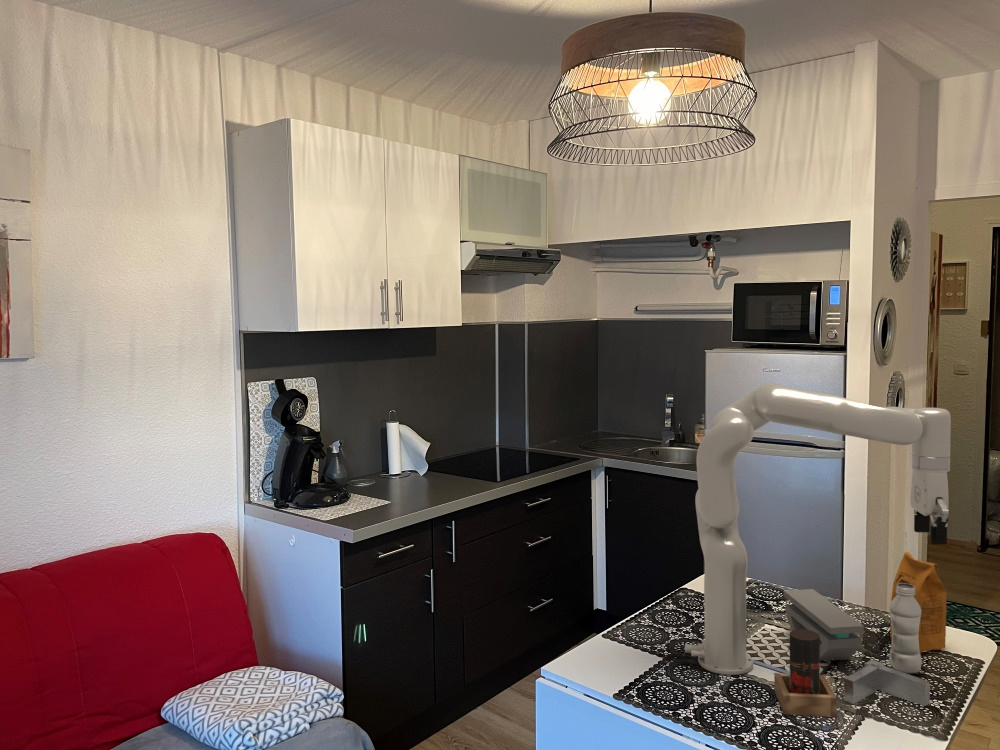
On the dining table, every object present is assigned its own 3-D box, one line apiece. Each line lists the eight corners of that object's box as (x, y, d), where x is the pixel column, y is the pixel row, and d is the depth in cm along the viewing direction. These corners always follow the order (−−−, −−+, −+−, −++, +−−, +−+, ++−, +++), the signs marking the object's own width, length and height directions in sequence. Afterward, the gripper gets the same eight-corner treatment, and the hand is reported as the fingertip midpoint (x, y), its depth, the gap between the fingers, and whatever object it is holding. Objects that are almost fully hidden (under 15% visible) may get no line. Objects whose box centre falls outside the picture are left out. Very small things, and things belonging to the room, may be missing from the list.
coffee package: (919, 632, 203) (920, 548, 202) (952, 652, 191) (953, 563, 189) (883, 635, 202) (883, 550, 201) (913, 655, 190) (914, 565, 188)
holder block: (783, 714, 164) (783, 695, 164) (774, 690, 174) (774, 673, 174) (836, 716, 162) (836, 697, 162) (824, 692, 173) (824, 675, 172)
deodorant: (784, 697, 171) (784, 630, 170) (811, 695, 172) (811, 628, 170) (797, 711, 165) (797, 641, 164) (824, 709, 166) (825, 639, 165)
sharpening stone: (863, 672, 182) (863, 625, 181) (830, 674, 182) (830, 627, 181) (812, 629, 207) (812, 589, 206) (783, 631, 207) (783, 590, 206)
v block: (846, 704, 168) (846, 681, 167) (831, 679, 179) (832, 658, 178) (932, 708, 165) (932, 684, 165) (912, 682, 176) (912, 661, 176)
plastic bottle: (925, 678, 178) (926, 591, 177) (893, 676, 180) (893, 590, 178) (916, 665, 185) (917, 581, 183) (885, 663, 186) (886, 580, 185)
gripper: (899, 456, 187) (899, 527, 188) (927, 470, 170) (926, 548, 171) (933, 456, 186) (932, 528, 187) (965, 470, 169) (964, 549, 170)
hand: (929, 537), depth 179 cm, fingers open, 9 cm apart
